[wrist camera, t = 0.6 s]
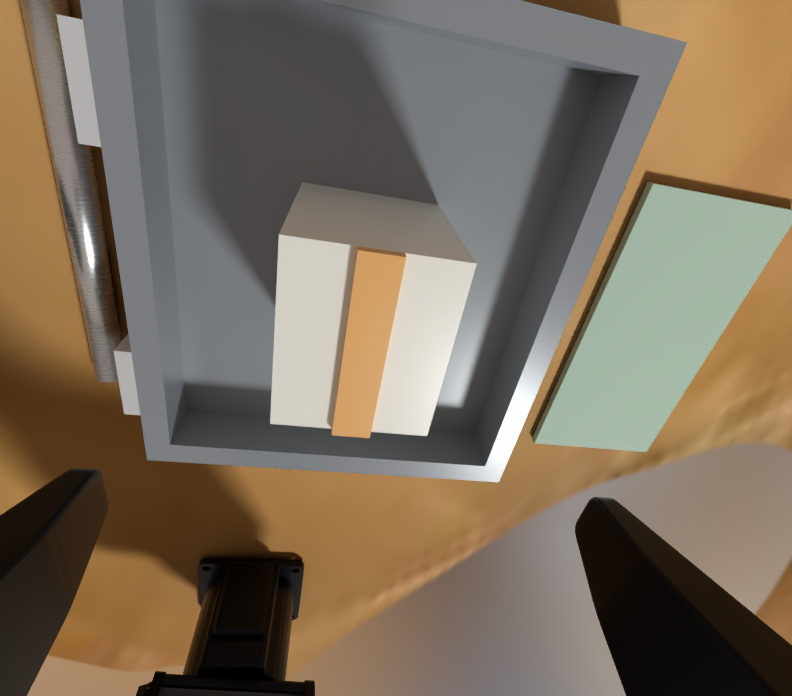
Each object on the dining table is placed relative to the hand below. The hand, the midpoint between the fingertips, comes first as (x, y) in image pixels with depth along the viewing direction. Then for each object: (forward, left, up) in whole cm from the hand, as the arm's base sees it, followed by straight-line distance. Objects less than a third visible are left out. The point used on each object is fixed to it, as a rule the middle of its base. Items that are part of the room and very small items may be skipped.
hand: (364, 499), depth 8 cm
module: (0, 0, -11) cm, 11 cm away
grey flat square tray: (0, 0, -12) cm, 12 cm away
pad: (-2, -15, -12) cm, 19 cm away
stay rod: (0, +10, -13) cm, 16 cm away
